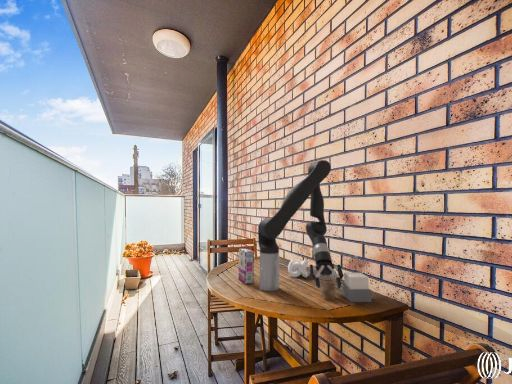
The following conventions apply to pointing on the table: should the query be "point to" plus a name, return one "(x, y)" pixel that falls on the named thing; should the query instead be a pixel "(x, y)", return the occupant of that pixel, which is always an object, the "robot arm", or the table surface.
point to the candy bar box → (246, 266)
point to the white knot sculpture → (298, 268)
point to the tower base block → (357, 294)
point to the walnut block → (328, 289)
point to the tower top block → (356, 281)
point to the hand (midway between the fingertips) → (329, 287)
